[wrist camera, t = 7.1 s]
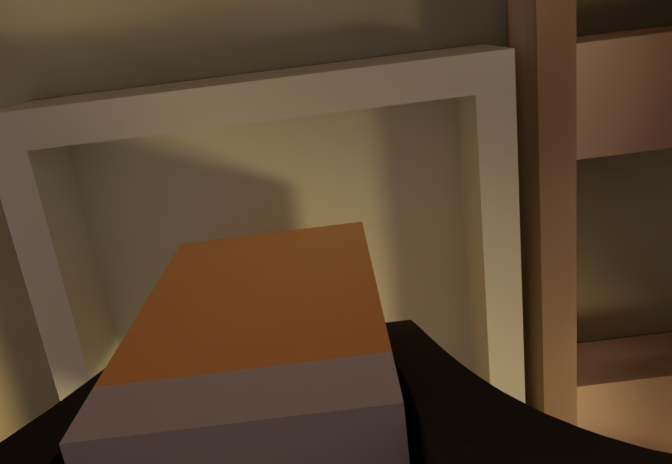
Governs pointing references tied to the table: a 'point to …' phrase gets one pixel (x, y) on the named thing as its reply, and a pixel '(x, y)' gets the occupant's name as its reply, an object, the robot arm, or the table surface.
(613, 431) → the rack
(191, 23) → the table surface
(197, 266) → the block
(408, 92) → the tray
